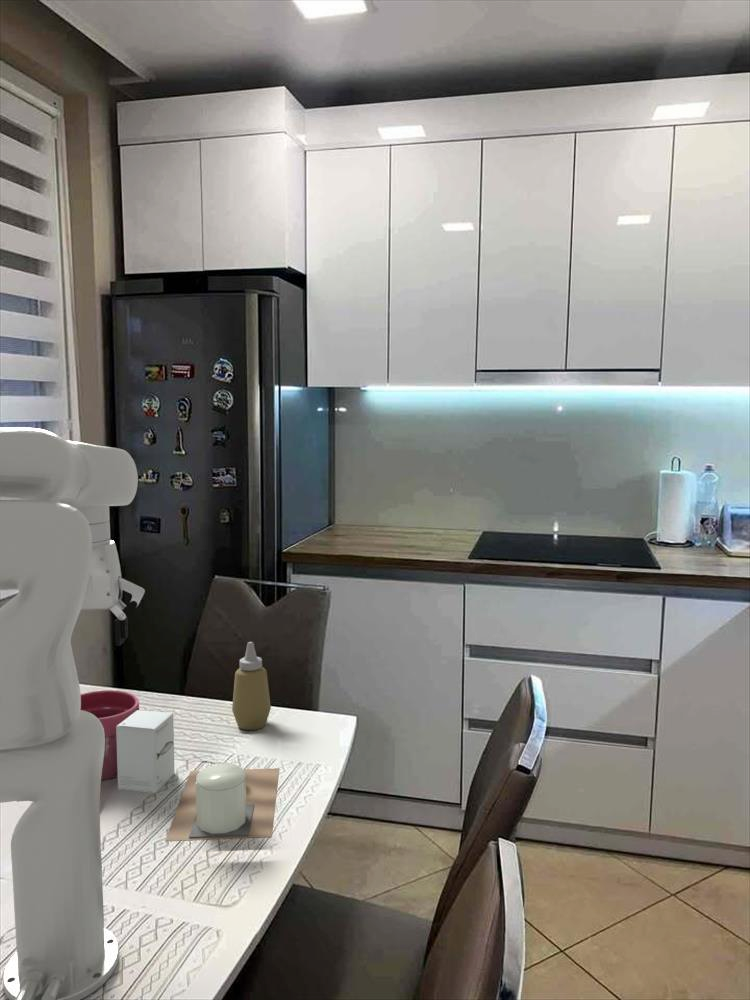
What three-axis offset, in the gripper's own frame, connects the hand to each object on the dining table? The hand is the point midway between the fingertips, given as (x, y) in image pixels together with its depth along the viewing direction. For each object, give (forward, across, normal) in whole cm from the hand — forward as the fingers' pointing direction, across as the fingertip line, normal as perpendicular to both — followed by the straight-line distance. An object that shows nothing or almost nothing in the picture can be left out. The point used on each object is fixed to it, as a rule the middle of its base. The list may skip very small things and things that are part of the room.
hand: (88, 643), depth 113 cm
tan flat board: (+30, +20, +5) cm, 37 cm away
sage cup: (+29, +20, -1) cm, 35 cm away
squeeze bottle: (+31, +21, +38) cm, 53 cm away
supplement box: (+31, +5, +13) cm, 34 cm away
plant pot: (+31, -5, +20) cm, 37 cm away
